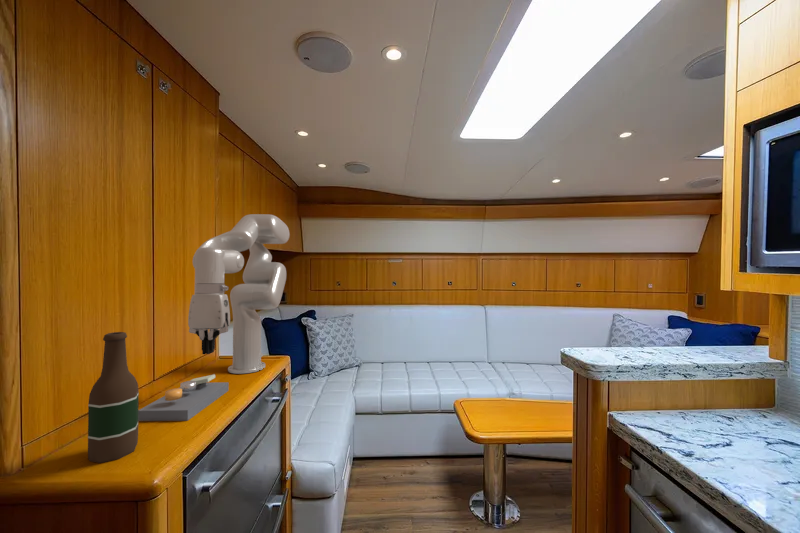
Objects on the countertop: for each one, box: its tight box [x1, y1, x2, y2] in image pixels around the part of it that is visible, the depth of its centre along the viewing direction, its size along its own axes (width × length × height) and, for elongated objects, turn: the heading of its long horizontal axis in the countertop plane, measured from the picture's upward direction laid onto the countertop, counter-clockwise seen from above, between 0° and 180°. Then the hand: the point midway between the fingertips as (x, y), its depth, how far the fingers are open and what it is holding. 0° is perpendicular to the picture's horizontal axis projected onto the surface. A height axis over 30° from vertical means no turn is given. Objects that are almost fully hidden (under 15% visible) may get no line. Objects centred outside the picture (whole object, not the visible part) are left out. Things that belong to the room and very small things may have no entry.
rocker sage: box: [189, 373, 216, 385], centre depth 96 cm, size 4×6×1 cm, turn 91°
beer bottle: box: [87, 331, 140, 464], centre depth 66 cm, size 8×8×24 cm
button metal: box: [179, 380, 196, 392], centre depth 90 cm, size 4×4×2 cm
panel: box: [138, 381, 230, 422], centre depth 90 cm, size 20×12×4 cm, turn 1°
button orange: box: [164, 387, 182, 401], centre depth 84 cm, size 4×4×2 cm
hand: (208, 353), depth 96 cm, fingers closed
